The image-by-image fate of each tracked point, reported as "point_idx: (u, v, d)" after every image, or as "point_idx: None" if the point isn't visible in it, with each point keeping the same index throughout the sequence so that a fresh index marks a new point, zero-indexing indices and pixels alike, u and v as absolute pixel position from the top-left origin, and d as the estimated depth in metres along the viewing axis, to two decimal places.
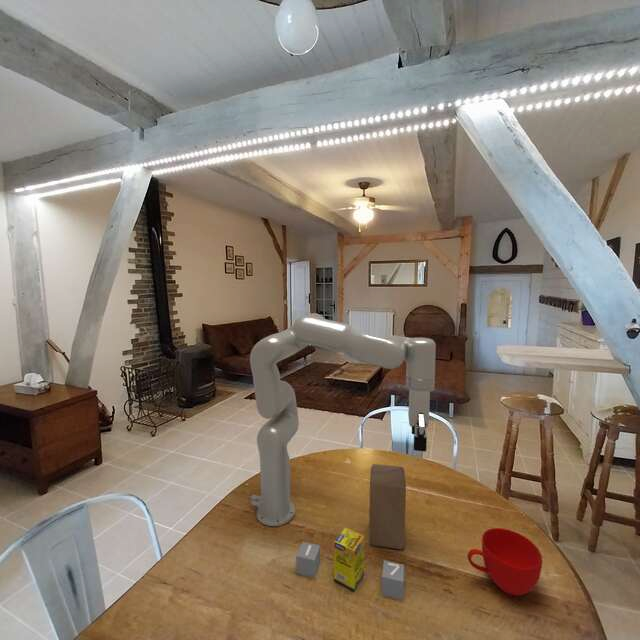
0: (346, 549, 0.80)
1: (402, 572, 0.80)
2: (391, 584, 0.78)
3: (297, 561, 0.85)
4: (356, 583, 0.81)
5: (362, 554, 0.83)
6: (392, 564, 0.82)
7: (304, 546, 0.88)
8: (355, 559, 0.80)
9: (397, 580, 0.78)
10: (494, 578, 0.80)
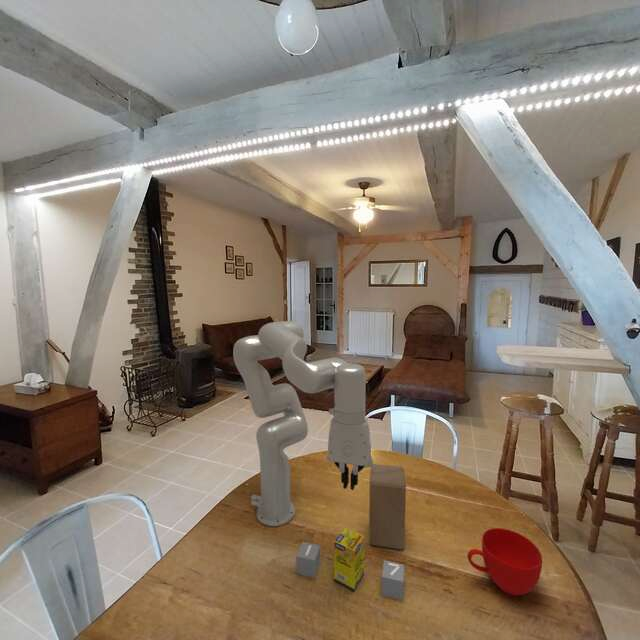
0: (347, 549, 0.80)
1: (402, 572, 0.80)
2: (391, 584, 0.78)
3: (297, 561, 0.85)
4: (356, 583, 0.81)
5: (362, 554, 0.83)
6: (392, 564, 0.82)
7: (304, 546, 0.88)
8: (355, 559, 0.80)
9: (397, 580, 0.78)
10: (494, 578, 0.80)
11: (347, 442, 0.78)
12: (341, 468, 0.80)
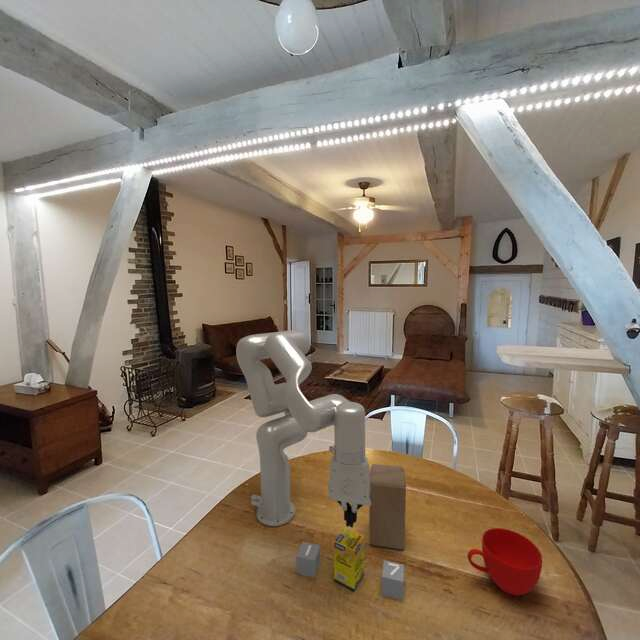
0: (347, 549, 0.80)
1: (402, 572, 0.80)
2: (391, 584, 0.78)
3: (297, 561, 0.85)
4: (356, 583, 0.81)
5: (362, 554, 0.83)
6: (392, 564, 0.82)
7: (304, 546, 0.88)
8: (355, 559, 0.80)
9: (397, 580, 0.78)
10: (494, 578, 0.80)
11: (347, 481, 0.79)
12: (343, 506, 0.81)
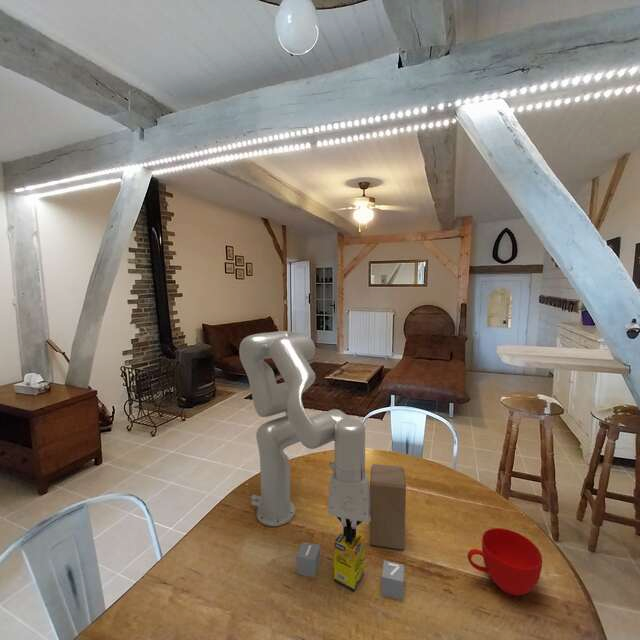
0: (347, 549, 0.80)
1: (402, 572, 0.80)
2: (391, 584, 0.78)
3: (297, 561, 0.85)
4: (356, 583, 0.81)
5: (362, 554, 0.83)
6: (392, 564, 0.82)
7: (304, 546, 0.88)
8: (355, 559, 0.80)
9: (397, 580, 0.78)
10: (494, 578, 0.80)
11: (347, 498, 0.79)
12: (343, 522, 0.82)
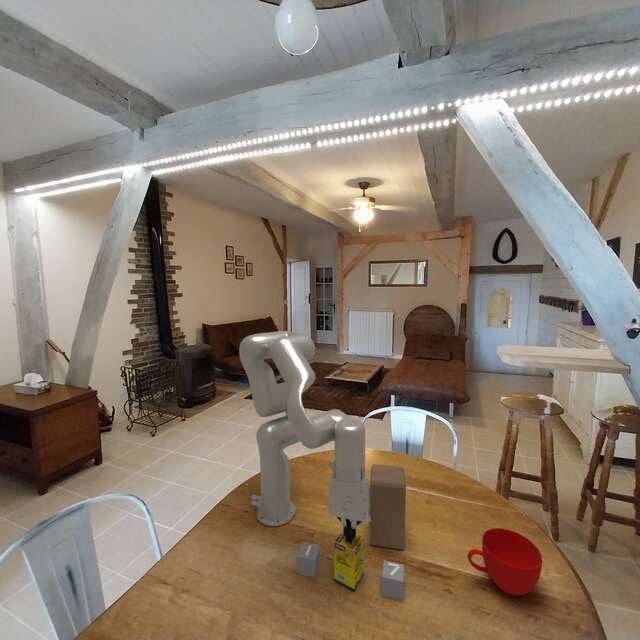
0: (347, 549, 0.80)
1: (402, 572, 0.80)
2: (391, 584, 0.78)
3: (297, 561, 0.85)
4: (356, 583, 0.81)
5: (362, 554, 0.83)
6: (392, 564, 0.82)
7: (304, 546, 0.88)
8: (355, 559, 0.80)
9: (397, 580, 0.78)
10: (494, 578, 0.80)
11: (347, 498, 0.79)
12: (343, 522, 0.82)
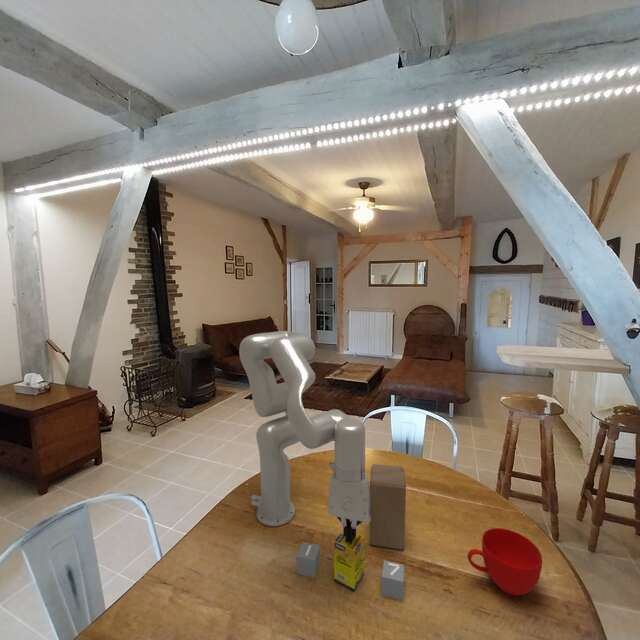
0: (347, 549, 0.80)
1: (402, 572, 0.80)
2: (391, 584, 0.78)
3: (297, 561, 0.85)
4: (356, 583, 0.81)
5: (362, 554, 0.83)
6: (392, 564, 0.82)
7: (304, 546, 0.88)
8: (355, 559, 0.80)
9: (397, 580, 0.78)
10: (494, 578, 0.80)
11: (347, 498, 0.79)
12: (343, 522, 0.82)
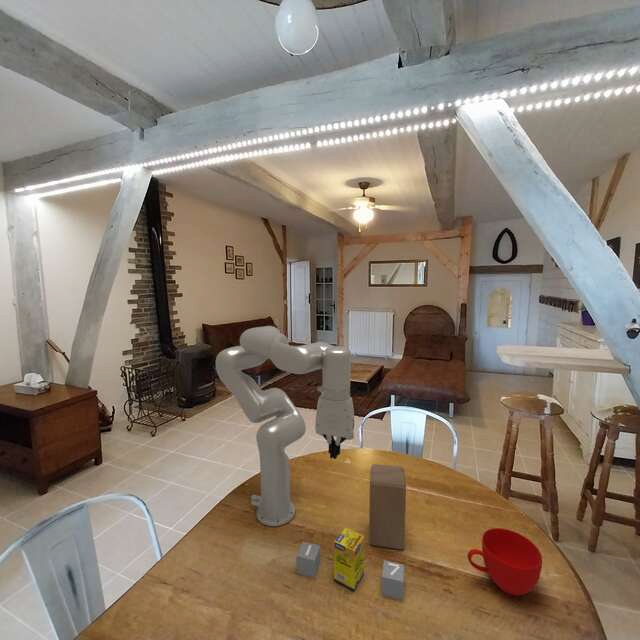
0: (347, 549, 0.80)
1: (402, 572, 0.80)
2: (391, 584, 0.78)
3: (297, 561, 0.85)
4: (356, 583, 0.81)
5: (362, 554, 0.83)
6: (392, 564, 0.82)
7: (304, 546, 0.88)
8: (355, 559, 0.80)
9: (397, 580, 0.78)
10: (494, 578, 0.80)
11: (332, 416, 0.87)
12: (328, 440, 0.90)
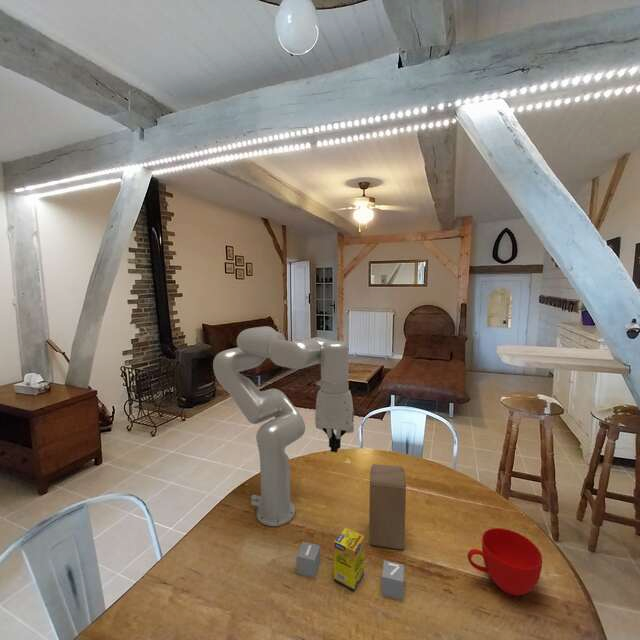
0: (347, 549, 0.80)
1: (402, 572, 0.80)
2: (391, 584, 0.78)
3: (297, 561, 0.85)
4: (356, 583, 0.81)
5: (362, 554, 0.83)
6: (392, 564, 0.82)
7: (304, 546, 0.88)
8: (355, 559, 0.80)
9: (397, 580, 0.78)
10: (494, 578, 0.80)
11: (332, 409, 0.88)
12: (328, 434, 0.90)
